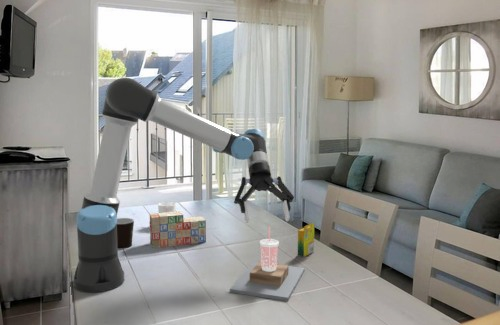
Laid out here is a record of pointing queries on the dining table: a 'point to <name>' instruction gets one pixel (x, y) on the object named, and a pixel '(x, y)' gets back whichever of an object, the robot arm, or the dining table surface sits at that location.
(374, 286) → the dining table surface
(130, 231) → the coffee mug
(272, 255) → the beverage cup
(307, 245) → the crayon box
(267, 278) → the walnut pedestal
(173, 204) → the white cup
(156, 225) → the stack of blocks
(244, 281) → the base board
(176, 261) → the dining table surface
